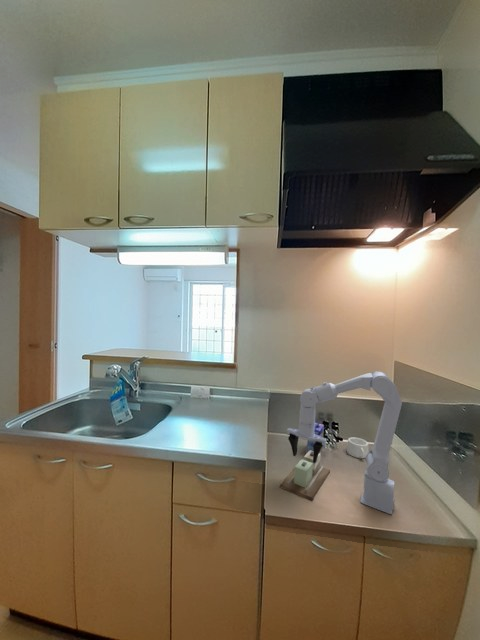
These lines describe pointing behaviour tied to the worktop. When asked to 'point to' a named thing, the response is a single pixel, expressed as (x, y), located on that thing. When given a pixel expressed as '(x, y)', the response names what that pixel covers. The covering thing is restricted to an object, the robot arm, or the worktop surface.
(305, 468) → the module
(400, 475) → the worktop surface
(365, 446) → the mug
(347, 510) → the worktop surface
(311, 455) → the rail board
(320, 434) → the ink cartridge box
